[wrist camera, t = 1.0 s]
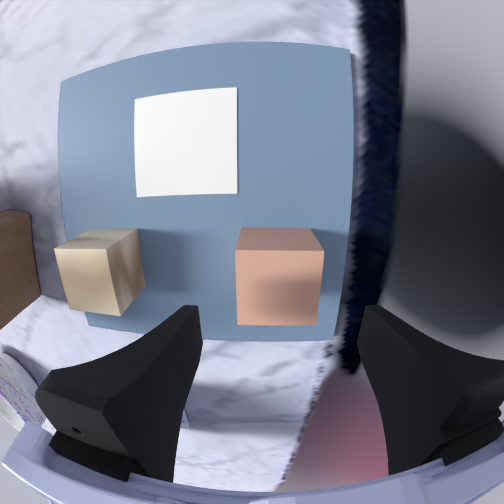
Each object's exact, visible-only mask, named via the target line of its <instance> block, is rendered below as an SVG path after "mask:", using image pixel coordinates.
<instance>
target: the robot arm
mask: <svg viewBox="0 0 504 504" xmlns="http://www.w3.org/2000/svg"><path fill="white" fill-rule="evenodd" d="M202 345H203V340H202V333H201V325H200V316H199V307H198V305H184V306H182V307H181V308H180V309H178V310H177V311H176V312H174V313H173V314H172V315H171V316H170V317H168V318H167V319H166V320H164V321H163V322H162V323H161V324H159V325H158V326H157V327H155V328H154V329H152V330H151V331H149V332H148V333H147V334H145V335H144V336H142V337H141V338H139V339H138V340H136V341H134V342H133V343H131V344H129V345H127V346H125V347H123V348H122V349H120V350H117V351H115V352H113V353H110V354H108V355H106V356H104V357H101V358H99V359H96V360H93V361H90V362H86V363H83V364H80V365H76V366H71V367H66V368H61V369H55V370H51V372H50V373H49V374H48V376H47V377H46V378H45V379H44V381H43V382H42V383H41V385H40V386H39V387H38V389H37V390H36V391H35V399H36V402H37V404H38V406H39V407H40V409H41V410H42V412H43V413H44V415H45V416H46V417H47V419H48V420H49V421H50V422H51V424H52V425H53V426H54V428H55V429H56V430H57V431H56V433H55V435H54V436H53V435H52V434H50V433H49V432H48V431H46V430H45V429H43V428H41V427H39V426H37V425H35V424H34V423H32V422H30V421H26V423H25V424H24V426H23V427H22V429H21V430H20V432H19V434H18V435H17V437H16V438H15V440H14V442H13V443H12V445H11V447H10V448H9V450H8V451H7V453H6V455H5V457H4V459H3V460H2V465H3V466H5V467H6V468H7V469H8V470H9V471H10V472H11V473H13V474H14V475H15V476H16V477H18V478H19V479H20V480H21V481H22V482H24V483H25V484H27V485H28V486H29V487H30V488H32V489H33V490H35V491H36V492H37V493H39V494H40V495H42V496H43V497H45V498H46V499H47V500H48V501H49V503H50V504H470V503H472V502H474V501H476V500H477V499H479V498H480V497H482V496H483V495H485V494H486V493H488V492H489V491H491V490H492V489H493V488H495V487H496V486H498V485H499V484H500V483H502V482H503V481H504V420H503V421H502V422H501V421H500V420H499V418H498V417H500V416H501V411H500V409H499V407H500V405H501V404H502V402H503V401H504V360H496V359H489V358H484V357H480V356H476V355H472V354H469V353H466V352H463V351H460V350H457V349H454V348H452V347H449V346H447V345H445V344H443V343H441V342H439V341H436V340H435V339H432V338H431V337H429V336H427V335H425V334H424V333H422V332H420V331H419V330H417V329H415V328H414V327H412V326H411V325H409V324H407V323H406V322H404V321H403V320H401V319H400V318H398V317H397V316H395V315H394V314H392V313H391V312H389V311H388V310H386V309H384V308H383V307H381V306H379V305H368V306H365V311H364V315H363V320H362V324H361V328H360V332H359V336H358V340H357V345H358V349H359V354H360V357H361V361H362V364H363V366H364V369H365V371H366V374H367V376H368V379H369V381H370V383H371V386H372V388H373V391H374V394H375V396H376V399H377V402H378V405H379V409H380V413H381V417H382V422H383V427H384V433H385V438H386V446H387V455H388V471H389V476H386V477H382V478H379V479H374V480H370V481H366V482H361V483H356V484H351V485H345V486H339V487H332V488H325V489H315V490H305V491H290V492H243V491H227V490H217V489H208V488H200V487H193V486H187V485H181V484H176V483H173V477H174V466H175V458H176V450H177V443H178V437H179V431H180V427H181V428H188V427H189V423H188V420H187V416H186V413H185V410H184V407H185V403H186V400H187V397H188V394H189V391H190V388H191V385H192V382H193V379H194V377H195V374H196V371H197V368H198V365H199V361H200V356H201V351H202Z"/></svg>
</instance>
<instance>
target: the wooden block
mask: <svg viewBox="0 0 504 504" xmlns="http://www.w3.org/2000/svg"><path fill="white" fill-rule="evenodd" d="M40 295H41V292H40V287H39V282H38V276H37V270H36V264H35V257H34V250H33V241H32V230H31V216H30V214H29V213H27V212H21V211H14V210H8V209H7V210H4V211H2V212H0V330H1V329H2V328H3V327H4V326H5V325H6V324H8V323H9V322H10V321H11V320H12V319H13V318H15V317H16V316H17V315H18V314H19V313H20V312H22V311H23V310H24V309H25V308H26V307H28V306H29V305H30V304H31V303H32V302H34V301H35V300H36V299H37V298H39V297H40Z"/></svg>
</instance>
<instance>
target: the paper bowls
mask: <svg viewBox="0 0 504 504" xmlns="http://www.w3.org/2000/svg"><path fill="white" fill-rule="evenodd" d="M37 389H38V386H37V384H36V383H35V381H34V380H33V378H32V377H31V376H30V375H29V373H28V372H27V371H26V370H25V369H24V368H23V367H22V366H21V365H20V364H19V363H18V362H17V361H16V360H15V359H14V358H12V357H11V356H9V355H7V354H4V353H0V414H1V415H2V416H3V417H4V418H5V419H6V420H7V421H8V422H9V423H10V424H11V425H12V426H13V427H15V428H16V429H17V430H19V431H20V430H21V429H22V427H23V426H24V424H25V423H26V421H30V422H32V423H34V424H35V425H37V426H39V427H41V426H42V424H43V423H44V421H45V420H46V416H45V415H44V413H43V412H42V410H41V409H40V407H39V406H38V404H37V402H36V399H35V391H36V390H37Z"/></svg>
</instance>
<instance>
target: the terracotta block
mask: <svg viewBox="0 0 504 504" xmlns="http://www.w3.org/2000/svg"><path fill="white" fill-rule="evenodd" d="M323 261H324V250H323V248H322V246H321V245H320V243H319V242H318V240H317V238H316V237H315V235H314V234H313V232H312V231H311V229H310V228H248V227H242V228H241V232H240V235H239V239H238V242H237V245H236V249H235V265H236V299H237V325H316V321H317V313H318V306H319V298H320V289H321V280H322V271H323Z"/></svg>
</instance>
